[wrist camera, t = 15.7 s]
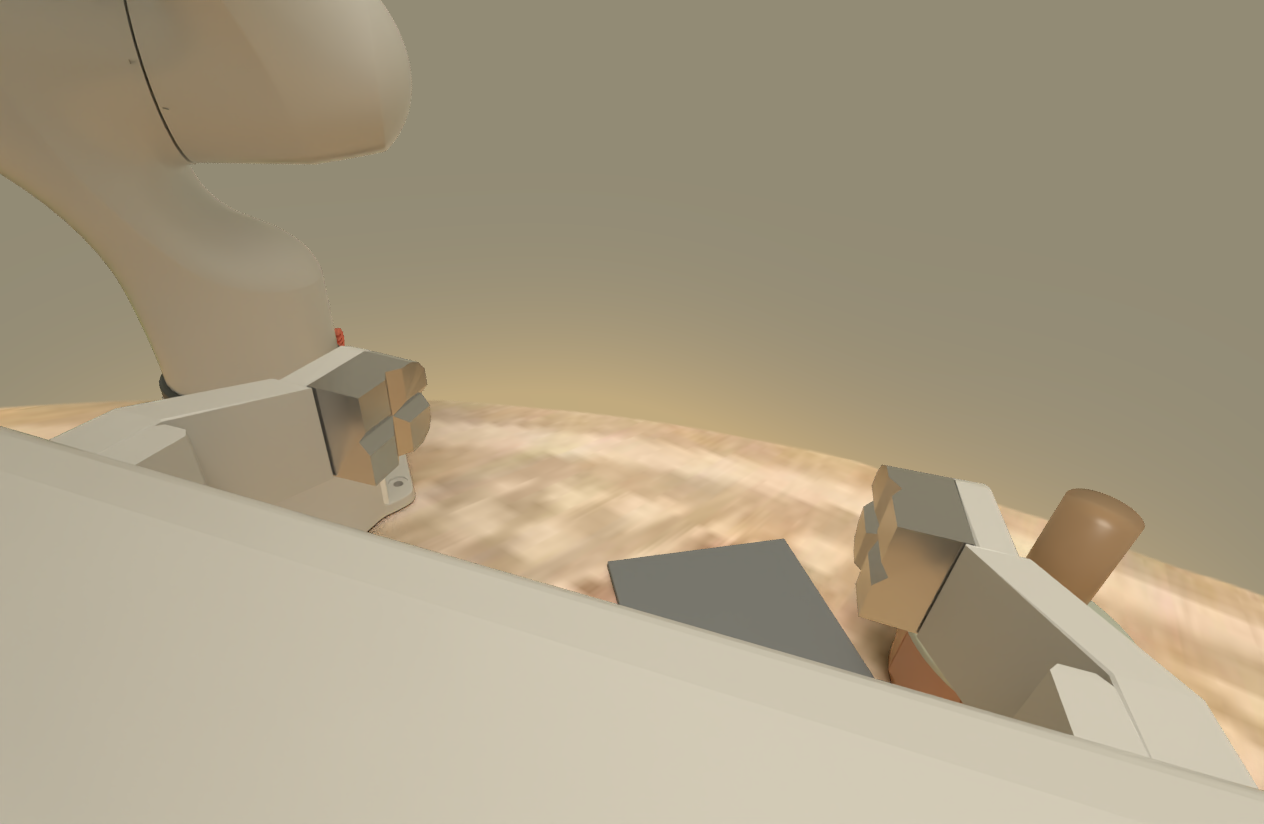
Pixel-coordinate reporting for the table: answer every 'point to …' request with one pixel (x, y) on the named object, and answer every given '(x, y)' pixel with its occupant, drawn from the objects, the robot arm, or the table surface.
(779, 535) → the table surface
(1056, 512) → the lid
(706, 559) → the mat
